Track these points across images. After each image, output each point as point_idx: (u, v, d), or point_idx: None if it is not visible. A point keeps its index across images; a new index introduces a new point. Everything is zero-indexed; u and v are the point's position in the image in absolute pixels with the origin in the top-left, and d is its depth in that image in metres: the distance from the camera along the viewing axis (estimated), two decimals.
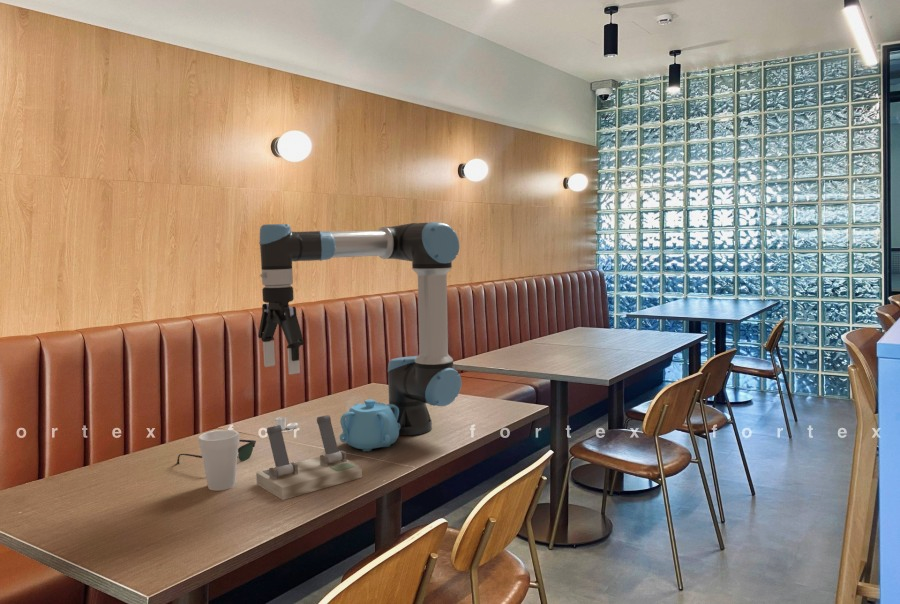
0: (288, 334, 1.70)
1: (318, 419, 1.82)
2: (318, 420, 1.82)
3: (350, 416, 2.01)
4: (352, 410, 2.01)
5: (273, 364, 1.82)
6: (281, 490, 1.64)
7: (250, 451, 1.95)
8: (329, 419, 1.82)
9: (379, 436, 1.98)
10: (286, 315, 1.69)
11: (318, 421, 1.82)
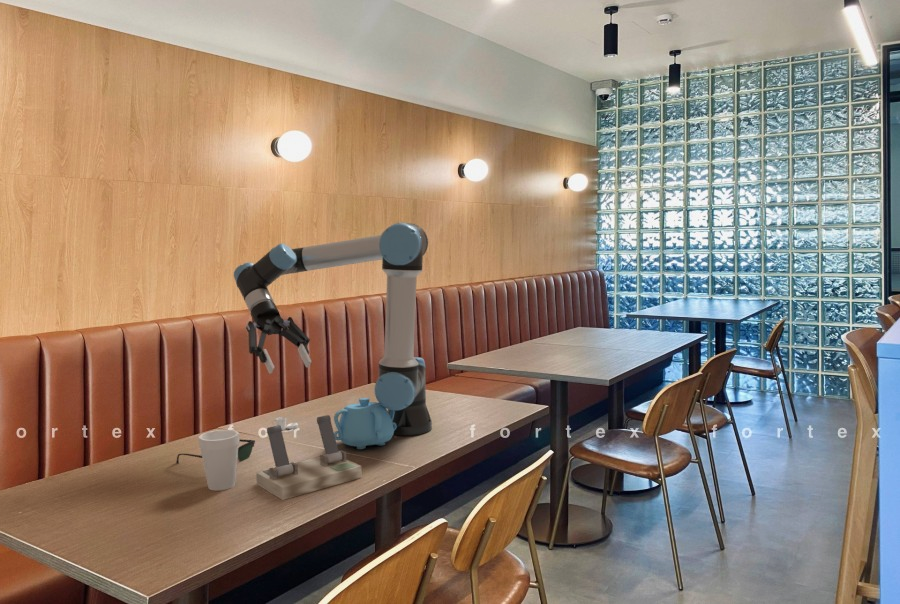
0: (258, 344, 1.96)
1: (318, 419, 1.82)
2: (318, 420, 1.82)
3: (344, 414, 2.02)
4: (346, 408, 2.03)
5: (308, 361, 1.97)
6: (281, 490, 1.64)
7: (250, 450, 1.95)
8: (329, 419, 1.82)
9: (372, 432, 1.98)
10: None
11: (318, 421, 1.82)
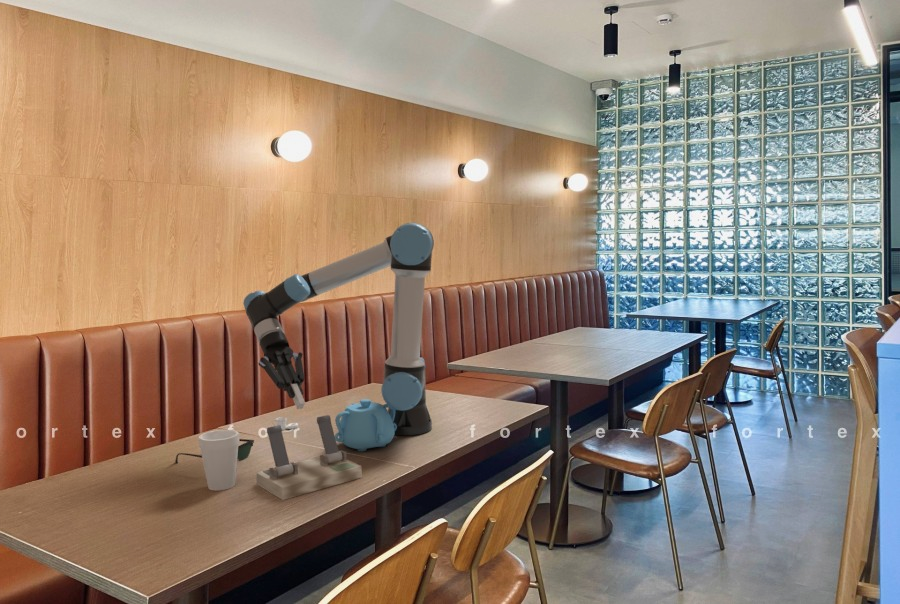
0: None
1: (318, 419, 1.82)
2: (318, 420, 1.82)
3: (345, 416, 2.01)
4: (347, 410, 2.02)
5: None
6: (281, 490, 1.64)
7: (249, 450, 1.96)
8: (329, 419, 1.82)
9: (373, 435, 1.98)
10: None
11: (318, 421, 1.82)
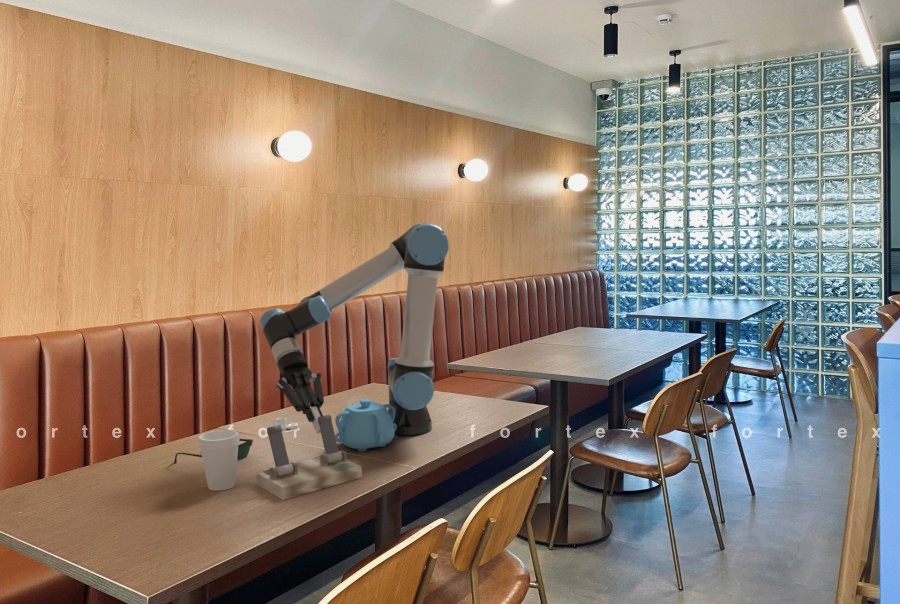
0: None
1: (319, 419, 1.81)
2: (319, 420, 1.81)
3: (345, 416, 2.01)
4: (347, 410, 2.02)
5: None
6: (281, 490, 1.64)
7: (247, 449, 1.96)
8: (330, 419, 1.82)
9: (373, 435, 1.98)
10: None
11: (319, 421, 1.81)
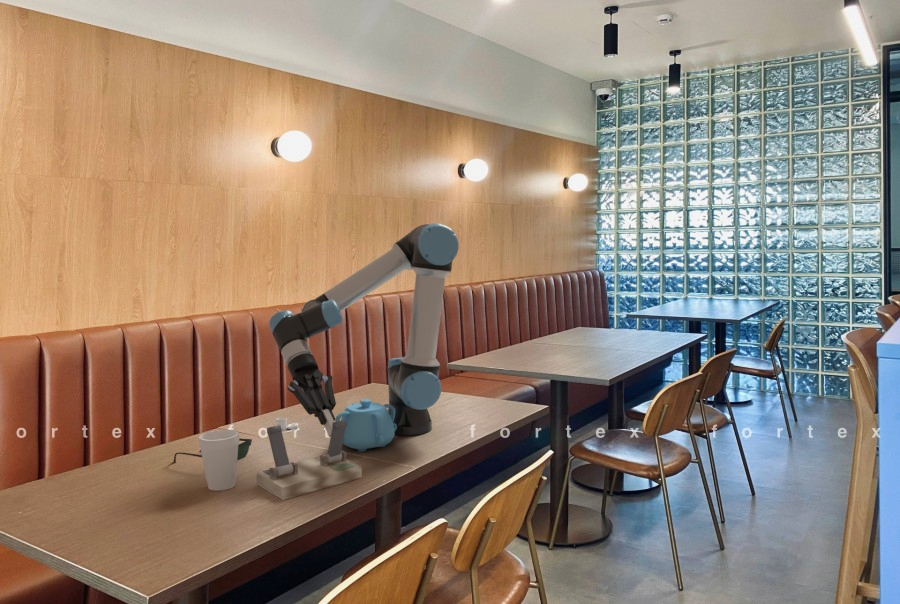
0: None
1: (334, 425, 1.75)
2: (334, 425, 1.75)
3: (345, 416, 2.01)
4: (347, 410, 2.02)
5: None
6: (281, 490, 1.64)
7: (247, 449, 1.96)
8: (345, 427, 1.77)
9: (373, 436, 1.98)
10: None
11: (334, 426, 1.76)
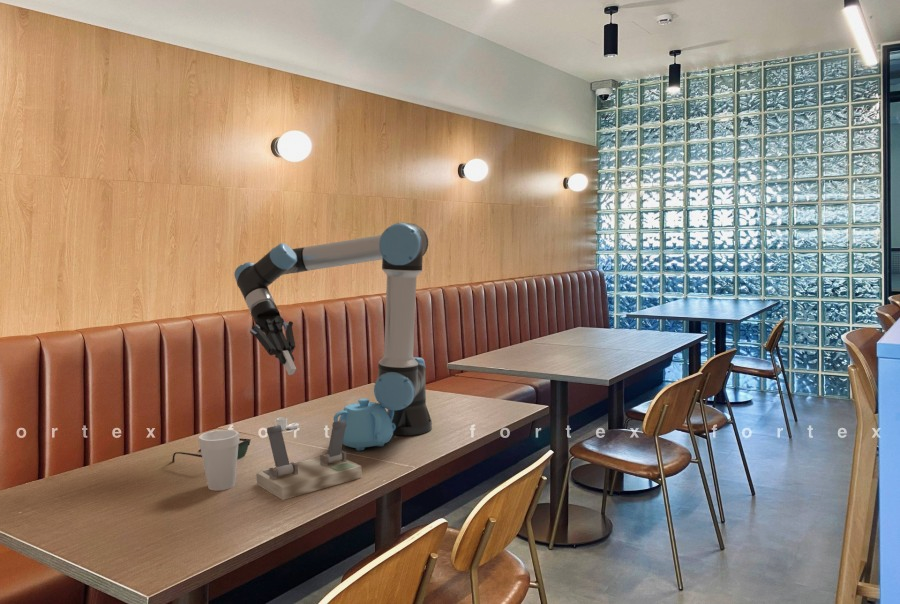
0: None
1: (334, 425, 1.75)
2: (334, 425, 1.75)
3: (344, 415, 2.02)
4: (346, 409, 2.02)
5: None
6: (281, 490, 1.64)
7: (245, 449, 1.97)
8: (345, 427, 1.77)
9: (371, 434, 1.98)
10: None
11: (334, 426, 1.76)
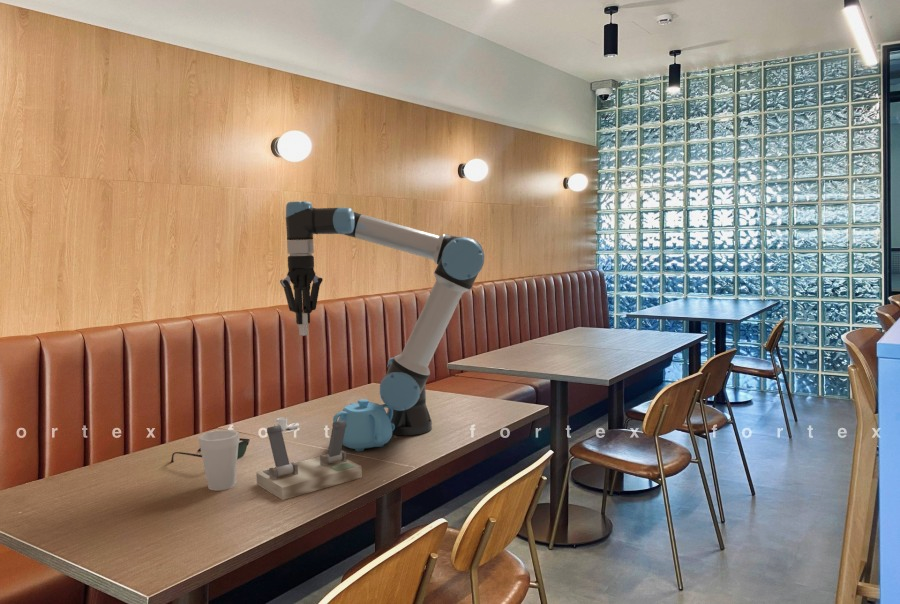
0: (295, 301, 2.04)
1: (334, 425, 1.75)
2: (334, 425, 1.75)
3: (343, 416, 2.01)
4: (345, 410, 2.02)
5: None
6: (281, 490, 1.64)
7: (244, 449, 1.97)
8: (345, 427, 1.77)
9: (371, 436, 1.98)
10: None
11: (334, 426, 1.76)
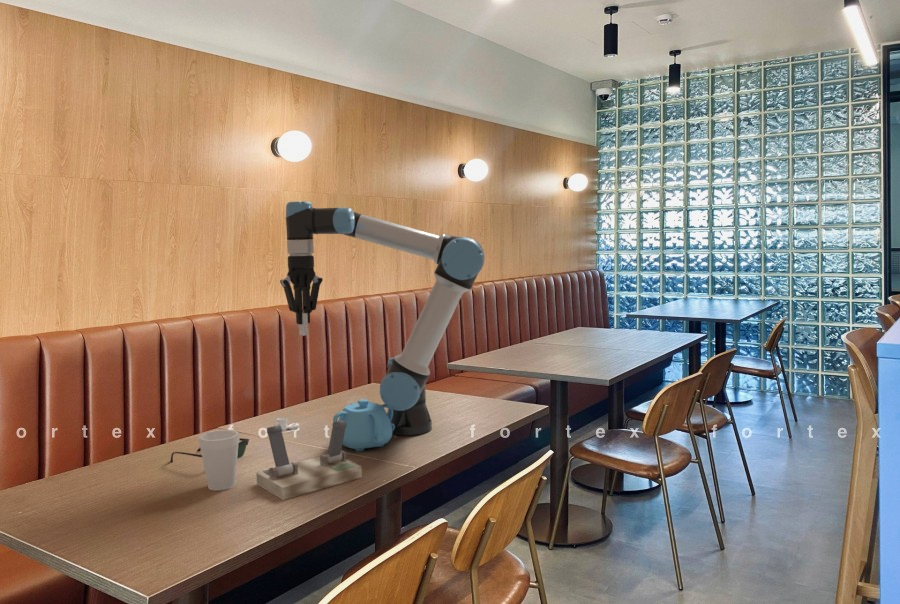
0: (295, 301, 2.04)
1: (334, 425, 1.75)
2: (334, 425, 1.75)
3: (343, 416, 2.01)
4: (345, 410, 2.02)
5: None
6: (281, 490, 1.64)
7: (243, 449, 1.97)
8: (345, 427, 1.77)
9: (371, 436, 1.98)
10: None
11: (334, 426, 1.76)
